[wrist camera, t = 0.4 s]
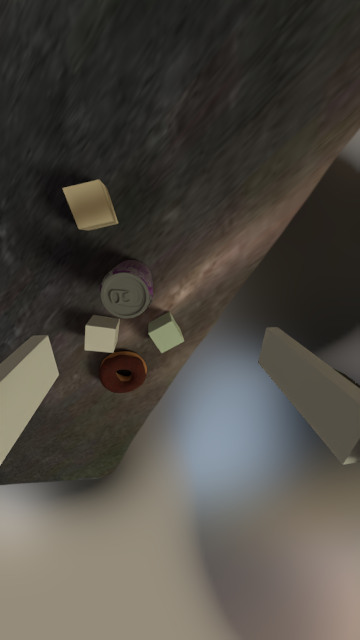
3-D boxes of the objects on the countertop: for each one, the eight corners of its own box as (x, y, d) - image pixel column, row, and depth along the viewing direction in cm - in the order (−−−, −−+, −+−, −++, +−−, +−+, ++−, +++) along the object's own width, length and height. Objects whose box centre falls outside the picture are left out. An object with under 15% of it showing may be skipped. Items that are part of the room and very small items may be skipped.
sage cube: (148, 322, 40) (148, 333, 35) (169, 311, 39) (171, 320, 35) (160, 340, 42) (161, 353, 37) (180, 329, 41) (184, 341, 37)
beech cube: (75, 195, 30) (62, 188, 25) (107, 188, 30) (99, 179, 25) (89, 230, 32) (78, 229, 27) (118, 223, 32) (112, 220, 27)
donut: (155, 359, 44) (155, 370, 40) (135, 389, 46) (133, 402, 43) (112, 341, 40) (109, 351, 37) (94, 375, 43) (88, 387, 39)
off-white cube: (93, 314, 37) (85, 325, 33) (119, 318, 38) (115, 329, 34) (92, 337, 39) (84, 350, 35) (117, 340, 40) (113, 352, 36)
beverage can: (116, 298, 37) (102, 323, 26) (110, 260, 34) (91, 270, 23) (153, 295, 38) (155, 319, 27) (150, 258, 35) (150, 267, 24)
